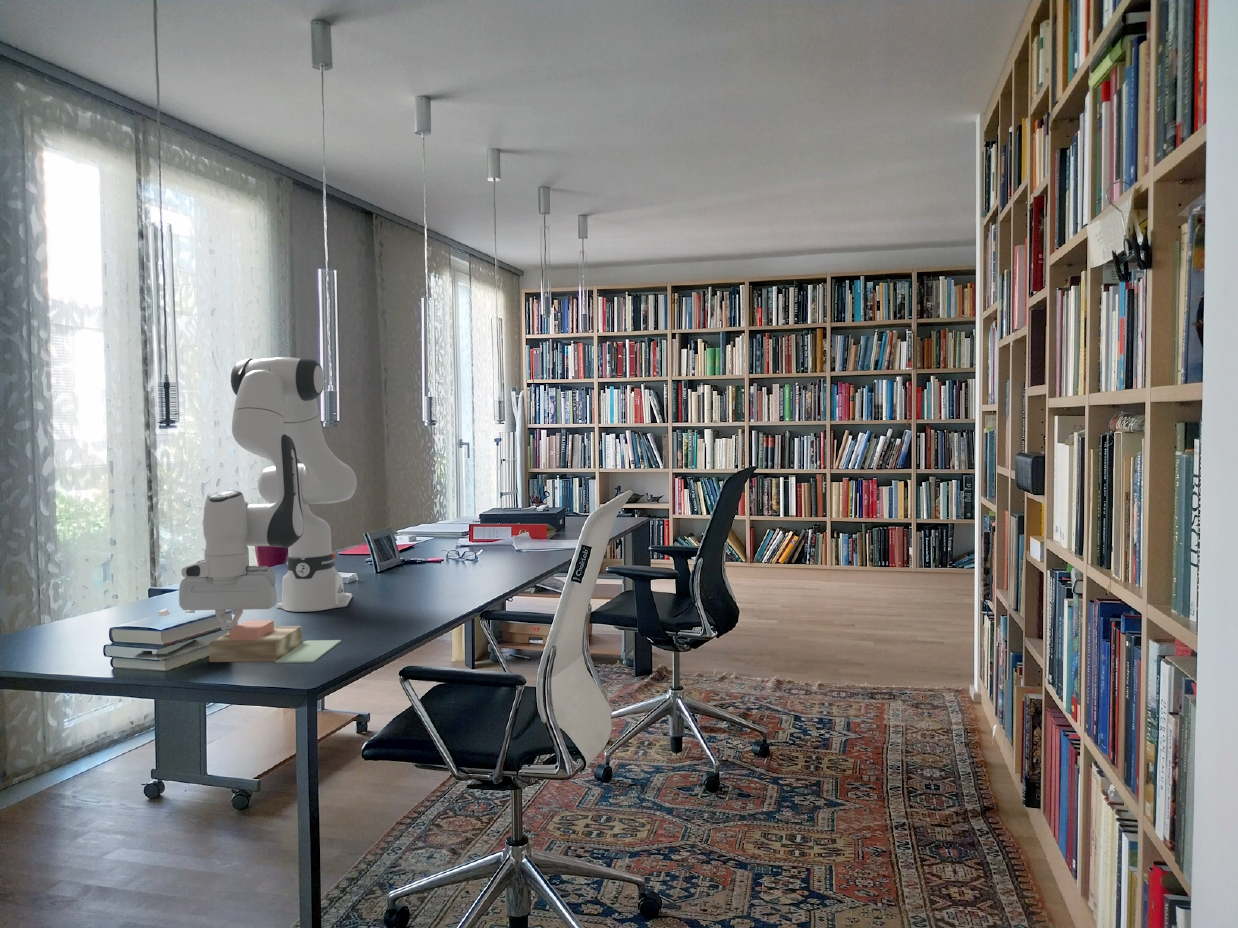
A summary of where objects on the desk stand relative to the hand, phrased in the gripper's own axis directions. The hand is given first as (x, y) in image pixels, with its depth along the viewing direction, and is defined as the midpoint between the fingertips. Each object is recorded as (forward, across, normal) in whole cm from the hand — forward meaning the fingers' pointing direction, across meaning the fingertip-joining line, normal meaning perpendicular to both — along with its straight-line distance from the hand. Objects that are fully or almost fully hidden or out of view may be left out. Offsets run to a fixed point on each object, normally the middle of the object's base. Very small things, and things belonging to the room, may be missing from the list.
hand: (229, 629), depth 196 cm
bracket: (+6, +17, -6) cm, 19 cm away
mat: (+5, -17, 0) cm, 18 cm away
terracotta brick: (+1, -5, 0) cm, 5 cm away
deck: (+5, -6, 0) cm, 8 cm away
